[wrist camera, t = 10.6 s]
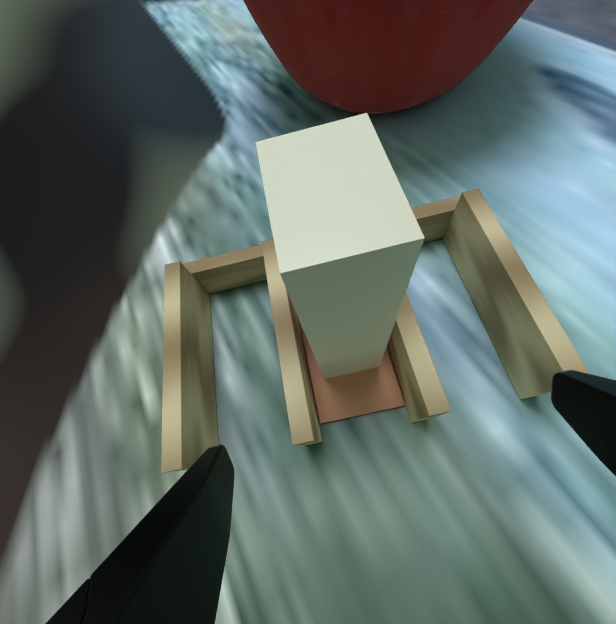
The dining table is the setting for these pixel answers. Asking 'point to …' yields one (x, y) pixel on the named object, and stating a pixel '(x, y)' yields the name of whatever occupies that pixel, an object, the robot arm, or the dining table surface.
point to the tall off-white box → (340, 238)
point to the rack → (402, 348)
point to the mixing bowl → (382, 46)
